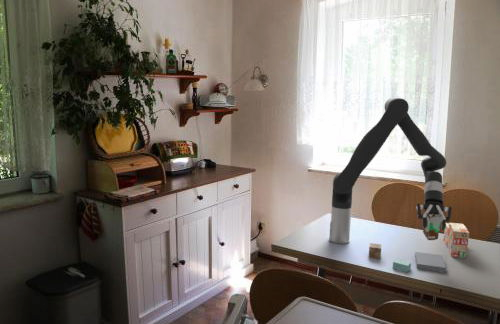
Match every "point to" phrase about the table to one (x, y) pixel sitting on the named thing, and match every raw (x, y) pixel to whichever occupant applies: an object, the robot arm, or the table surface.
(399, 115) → the robot arm
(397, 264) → the teal block
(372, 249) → the walnut block
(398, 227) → the table surface
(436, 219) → the food container
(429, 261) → the slate board
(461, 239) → the stack of blocks
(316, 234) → the table surface
